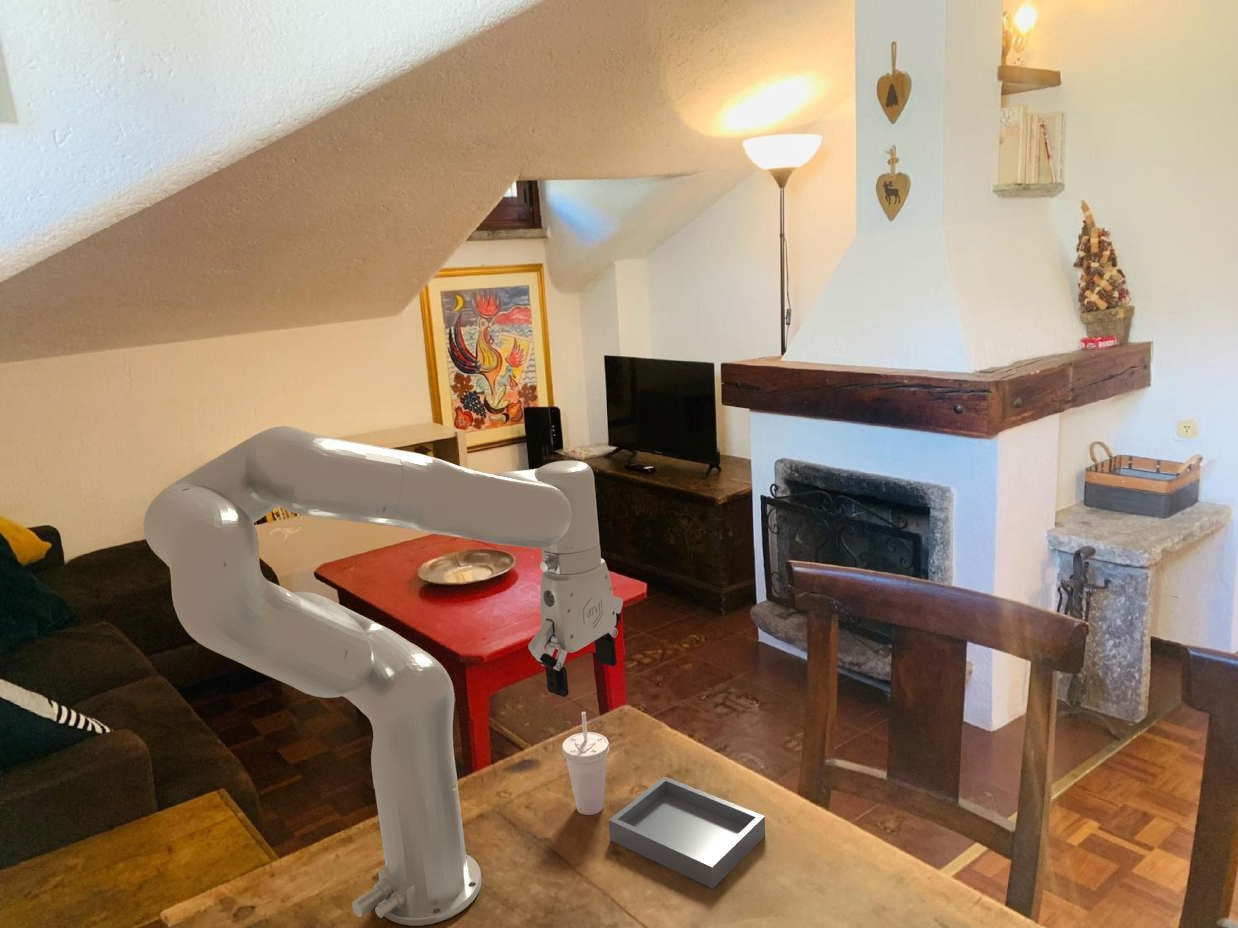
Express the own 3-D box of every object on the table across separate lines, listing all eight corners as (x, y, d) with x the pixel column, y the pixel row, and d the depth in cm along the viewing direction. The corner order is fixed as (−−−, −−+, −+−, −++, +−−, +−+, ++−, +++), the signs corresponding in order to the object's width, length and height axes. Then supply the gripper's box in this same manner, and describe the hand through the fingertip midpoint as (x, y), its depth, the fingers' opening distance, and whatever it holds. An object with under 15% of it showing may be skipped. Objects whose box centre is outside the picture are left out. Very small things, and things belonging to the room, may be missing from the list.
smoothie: (615, 793, 131) (609, 702, 127) (610, 821, 124) (604, 727, 121) (570, 793, 131) (563, 703, 128) (563, 820, 125) (555, 727, 122)
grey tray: (713, 888, 110) (712, 866, 110) (610, 840, 120) (608, 819, 120) (765, 836, 119) (764, 815, 119) (665, 795, 129) (664, 776, 129)
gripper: (546, 585, 111) (559, 714, 115) (636, 541, 123) (645, 659, 128) (502, 574, 115) (517, 698, 120) (593, 533, 128) (603, 646, 132)
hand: (583, 678), depth 124 cm, fingers open, 9 cm apart
